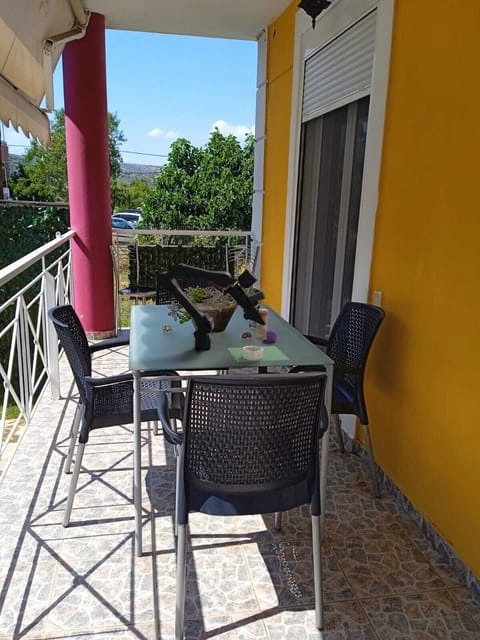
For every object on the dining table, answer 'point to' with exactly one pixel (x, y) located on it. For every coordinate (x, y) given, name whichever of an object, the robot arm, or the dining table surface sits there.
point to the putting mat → (269, 354)
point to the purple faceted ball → (271, 336)
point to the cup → (252, 352)
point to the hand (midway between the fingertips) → (265, 323)
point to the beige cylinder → (260, 329)
